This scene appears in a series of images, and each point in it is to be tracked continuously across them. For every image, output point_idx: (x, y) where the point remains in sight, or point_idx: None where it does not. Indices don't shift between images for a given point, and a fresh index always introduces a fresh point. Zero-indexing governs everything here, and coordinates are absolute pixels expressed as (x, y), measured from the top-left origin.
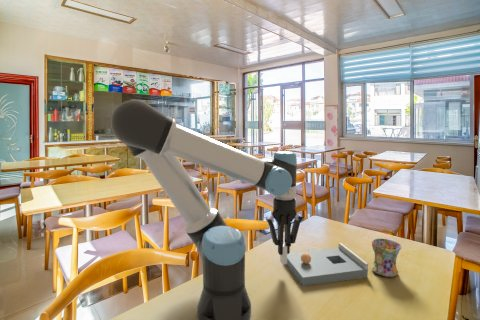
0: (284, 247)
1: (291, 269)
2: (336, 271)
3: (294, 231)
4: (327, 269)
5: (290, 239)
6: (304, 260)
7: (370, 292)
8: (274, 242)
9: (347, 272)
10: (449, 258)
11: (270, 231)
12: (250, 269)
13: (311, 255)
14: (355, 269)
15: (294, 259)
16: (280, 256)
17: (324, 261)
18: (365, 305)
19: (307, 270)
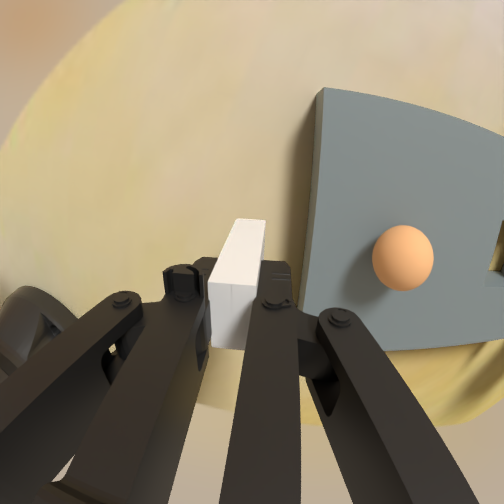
0: (225, 342)
1: (309, 212)
2: (446, 337)
3: (345, 480)
4: (433, 320)
5: (310, 360)
6: (379, 279)
7: (448, 376)
8: (113, 360)
9: (469, 342)
10: None
11: (19, 374)
12: (110, 142)
13: (464, 178)
14: (496, 334)
15: (356, 184)
16: (231, 233)
17: (473, 257)
18: None
19: (353, 310)
